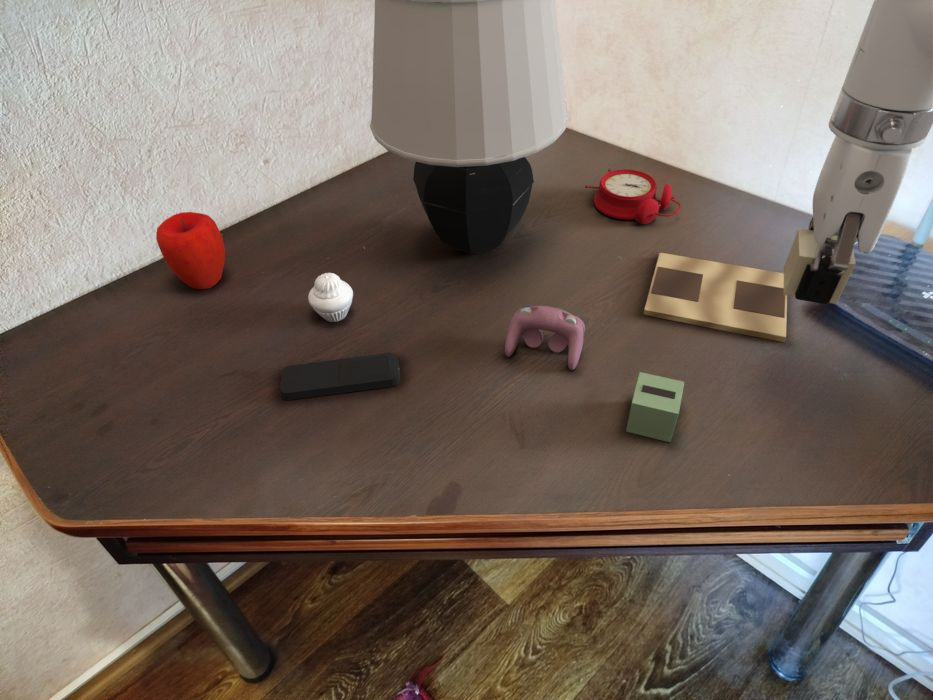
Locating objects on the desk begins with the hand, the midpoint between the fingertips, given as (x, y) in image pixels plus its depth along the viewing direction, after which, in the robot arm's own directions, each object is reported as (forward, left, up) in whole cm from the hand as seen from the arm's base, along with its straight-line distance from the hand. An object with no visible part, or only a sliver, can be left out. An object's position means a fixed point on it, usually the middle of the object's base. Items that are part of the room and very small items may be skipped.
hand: (810, 281), depth 67 cm
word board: (+7, -15, -16) cm, 23 cm away
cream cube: (0, 0, 0) cm, 0 cm away
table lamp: (+44, -17, -16) cm, 50 cm away
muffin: (+57, +5, -16) cm, 60 cm away
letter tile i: (+12, +10, -16) cm, 22 cm away
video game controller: (+27, +3, -16) cm, 32 cm away
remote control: (+50, +16, -16) cm, 55 cm away
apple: (+80, +4, -16) cm, 82 cm away
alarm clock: (+22, -35, -16) cm, 45 cm away
